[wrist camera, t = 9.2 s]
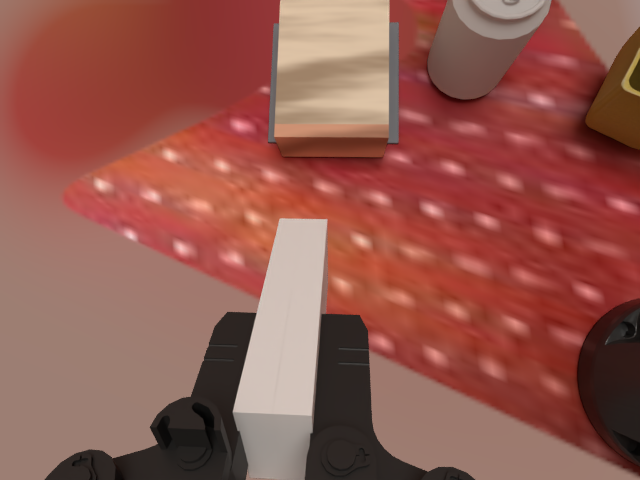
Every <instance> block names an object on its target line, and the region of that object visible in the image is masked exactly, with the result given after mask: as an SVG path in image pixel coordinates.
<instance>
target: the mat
mask: <svg viewBox="0 0 640 480" xmlns="http://www.w3.org/2000/svg"><path fill="white" fill-rule="evenodd" d="M398 35H399V23H398V22H397V23H389V138H388V142H387V144H398V97H399V55H398V54H399V51H398V50H399V45H398V44H399V38H398V37H399V36H398ZM278 40H279V24H274V31H273V51H272V52H273V53H272V72H271V92H270V113H269V134H268V143H276V140H275V138H274V129H275V107H276V85H277V62H278Z"/></svg>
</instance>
